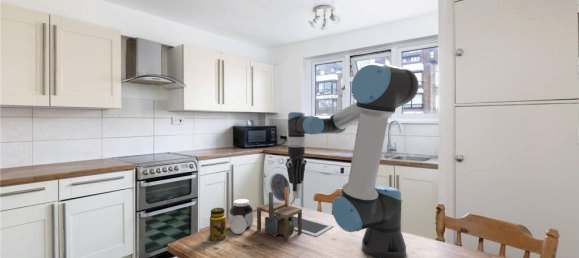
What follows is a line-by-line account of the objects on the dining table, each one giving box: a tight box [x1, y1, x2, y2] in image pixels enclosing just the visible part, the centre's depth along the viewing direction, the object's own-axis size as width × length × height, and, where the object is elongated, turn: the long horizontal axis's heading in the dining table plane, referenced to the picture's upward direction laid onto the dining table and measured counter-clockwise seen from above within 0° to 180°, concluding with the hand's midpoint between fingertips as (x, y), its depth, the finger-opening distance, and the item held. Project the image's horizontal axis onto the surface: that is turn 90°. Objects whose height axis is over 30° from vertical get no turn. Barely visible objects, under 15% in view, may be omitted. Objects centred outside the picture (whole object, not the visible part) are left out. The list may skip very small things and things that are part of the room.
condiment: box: [201, 207, 230, 244], centre depth 108 cm, size 7×8×12 cm
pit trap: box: [293, 214, 334, 238], centre depth 123 cm, size 26×14×1 cm, turn 51°
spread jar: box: [228, 198, 254, 235], centre depth 118 cm, size 12×11×12 cm
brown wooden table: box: [256, 201, 303, 242], centre depth 115 cm, size 16×10×10 cm, turn 51°
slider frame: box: [264, 186, 293, 237], centre depth 115 cm, size 6×11×17 cm, turn 141°
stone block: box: [277, 219, 295, 236], centre depth 115 cm, size 6×12×5 cm, turn 56°
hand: (296, 197), depth 124 cm, fingers closed
